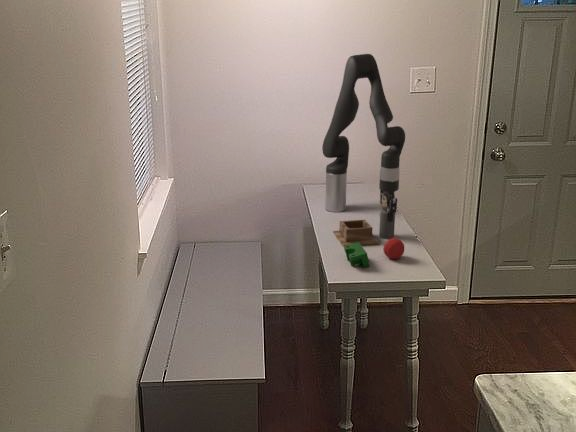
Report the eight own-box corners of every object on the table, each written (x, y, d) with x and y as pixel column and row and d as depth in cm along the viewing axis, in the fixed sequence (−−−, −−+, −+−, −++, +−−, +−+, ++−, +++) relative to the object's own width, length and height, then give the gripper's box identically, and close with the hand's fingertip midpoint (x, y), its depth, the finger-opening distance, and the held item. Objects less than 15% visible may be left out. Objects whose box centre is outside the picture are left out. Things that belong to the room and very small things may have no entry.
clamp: (349, 270, 246) (342, 246, 246) (365, 265, 246) (357, 242, 246) (354, 270, 234) (347, 245, 234) (370, 265, 234) (363, 241, 235)
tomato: (403, 239, 239) (390, 229, 245) (387, 254, 239) (375, 243, 244) (411, 252, 244) (398, 242, 250) (395, 266, 244) (383, 256, 250)
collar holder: (333, 233, 271) (333, 219, 269) (366, 231, 273) (366, 217, 271) (343, 247, 256) (344, 232, 254) (378, 244, 258) (379, 230, 256)
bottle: (395, 234, 269) (397, 199, 264) (392, 239, 264) (394, 203, 259) (380, 233, 271) (382, 197, 266) (377, 237, 265) (379, 202, 261)
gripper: (374, 173, 265) (372, 213, 271) (386, 183, 252) (384, 225, 257) (392, 172, 267) (390, 212, 272) (405, 182, 253) (402, 224, 259)
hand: (387, 218), depth 265 cm, fingers closed on bottle, 6 cm apart
